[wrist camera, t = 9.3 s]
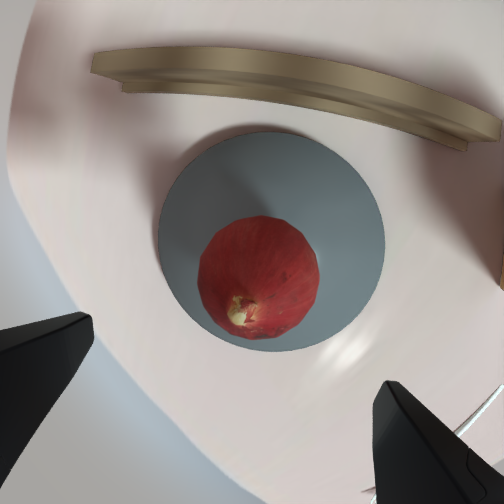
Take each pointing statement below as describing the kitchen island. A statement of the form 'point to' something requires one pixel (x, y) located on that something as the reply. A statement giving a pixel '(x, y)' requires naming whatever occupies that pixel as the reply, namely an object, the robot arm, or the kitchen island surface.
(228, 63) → the walnut screen
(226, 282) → the onion
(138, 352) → the kitchen island surface
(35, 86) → the kitchen island surface
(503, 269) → the small box
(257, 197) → the slate plate
